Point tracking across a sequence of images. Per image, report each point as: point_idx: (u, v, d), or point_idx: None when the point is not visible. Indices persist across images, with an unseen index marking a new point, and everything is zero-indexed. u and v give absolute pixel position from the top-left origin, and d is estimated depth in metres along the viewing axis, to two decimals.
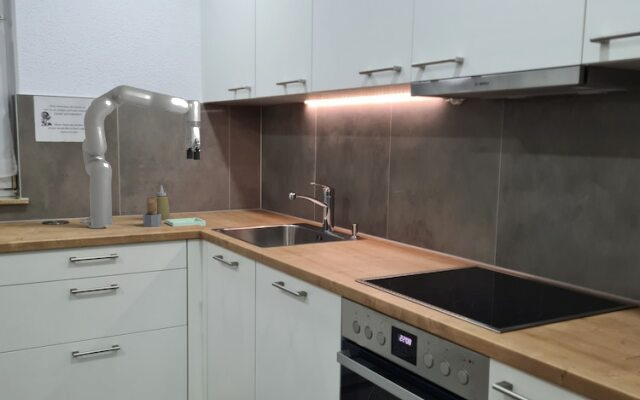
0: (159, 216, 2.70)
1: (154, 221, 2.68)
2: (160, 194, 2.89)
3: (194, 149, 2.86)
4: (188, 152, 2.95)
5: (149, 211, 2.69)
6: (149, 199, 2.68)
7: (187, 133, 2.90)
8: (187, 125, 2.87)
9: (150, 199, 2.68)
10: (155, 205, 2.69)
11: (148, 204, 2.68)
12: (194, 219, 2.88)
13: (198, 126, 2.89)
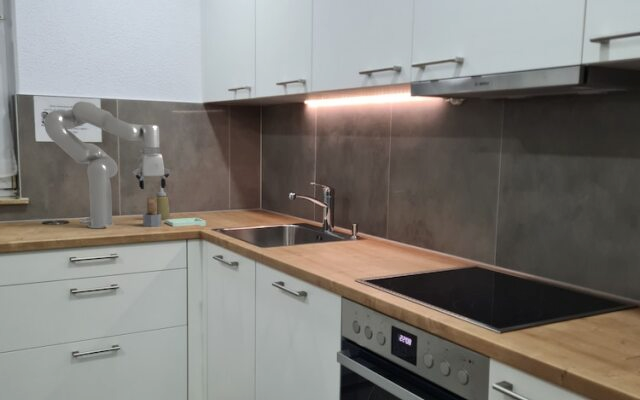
0: (159, 216, 2.70)
1: (154, 221, 2.68)
2: (160, 194, 2.89)
3: (165, 177, 2.71)
4: None
5: (149, 211, 2.69)
6: (149, 199, 2.68)
7: (153, 161, 2.66)
8: (156, 152, 2.66)
9: (150, 199, 2.68)
10: (155, 205, 2.69)
11: (148, 204, 2.68)
12: (194, 219, 2.88)
13: None
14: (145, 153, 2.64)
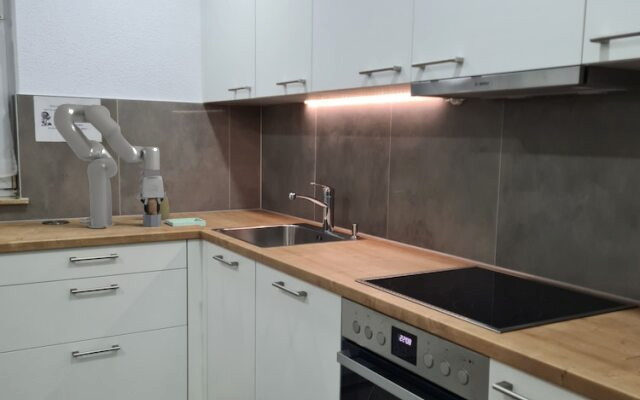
0: (159, 216, 2.70)
1: (154, 221, 2.68)
2: None
3: (160, 201, 2.71)
4: None
5: (149, 211, 2.69)
6: (149, 199, 2.68)
7: (153, 183, 2.67)
8: (156, 174, 2.67)
9: (150, 199, 2.68)
10: (155, 205, 2.69)
11: (148, 204, 2.68)
12: (194, 219, 2.88)
13: None
14: (145, 175, 2.66)
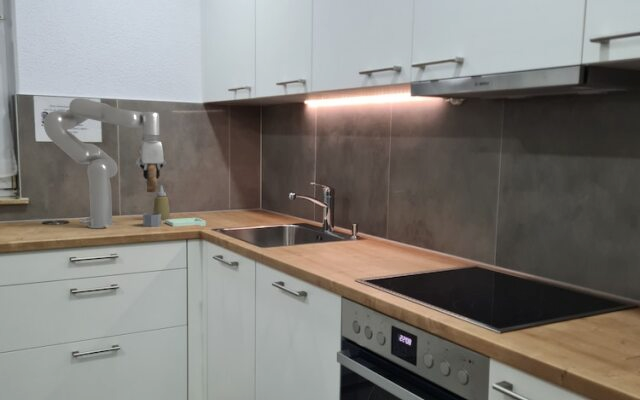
0: (159, 216, 2.70)
1: (154, 221, 2.68)
2: (160, 194, 2.89)
3: (160, 167, 2.69)
4: None
5: (149, 177, 2.67)
6: (149, 165, 2.66)
7: (152, 148, 2.65)
8: (156, 139, 2.65)
9: (150, 165, 2.66)
10: (155, 171, 2.68)
11: (148, 170, 2.67)
12: (194, 219, 2.88)
13: None
14: (145, 140, 2.64)
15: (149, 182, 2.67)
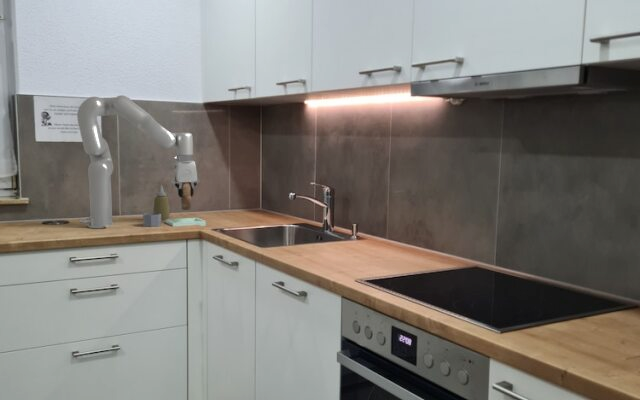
0: (159, 216, 2.70)
1: (154, 221, 2.68)
2: (160, 194, 2.89)
3: (193, 186, 2.79)
4: None
5: (183, 195, 2.76)
6: (183, 183, 2.76)
7: (187, 167, 2.74)
8: (190, 159, 2.74)
9: (184, 183, 2.76)
10: (189, 189, 2.77)
11: (182, 188, 2.76)
12: (194, 219, 2.88)
13: None
14: (179, 160, 2.73)
15: (184, 200, 2.77)
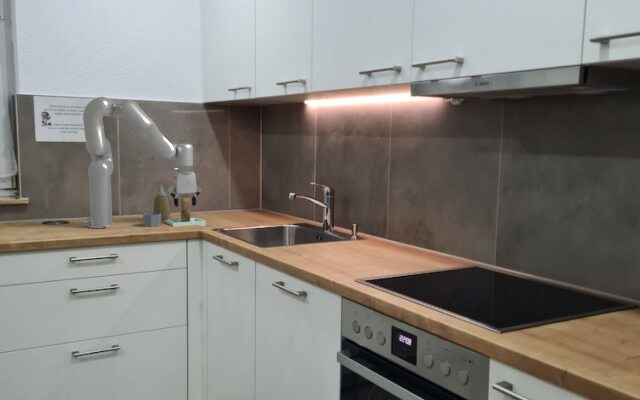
0: (159, 216, 2.70)
1: (154, 221, 2.68)
2: (160, 194, 2.89)
3: (196, 195, 2.80)
4: None
5: (183, 209, 2.77)
6: (184, 197, 2.76)
7: (186, 178, 2.75)
8: (190, 170, 2.75)
9: (185, 198, 2.76)
10: (189, 203, 2.77)
11: (183, 202, 2.76)
12: (194, 219, 2.88)
13: None
14: (179, 171, 2.74)
15: (183, 214, 2.77)
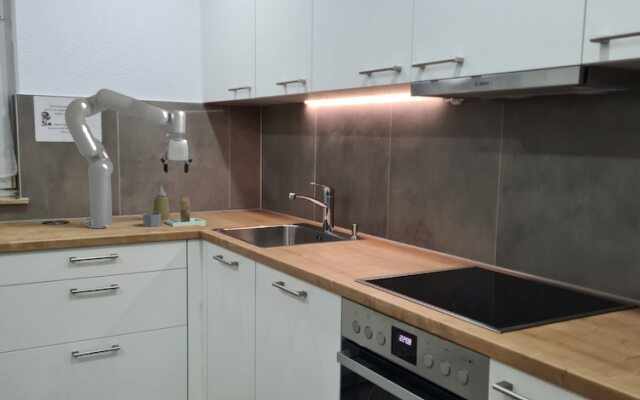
0: (159, 216, 2.70)
1: (154, 221, 2.68)
2: (160, 194, 2.89)
3: (188, 162, 2.78)
4: None
5: (182, 209, 2.77)
6: (183, 198, 2.76)
7: (178, 145, 2.73)
8: (182, 137, 2.73)
9: (183, 198, 2.76)
10: (188, 203, 2.78)
11: (182, 202, 2.77)
12: (194, 219, 2.88)
13: None
14: (171, 138, 2.72)
15: (183, 214, 2.77)
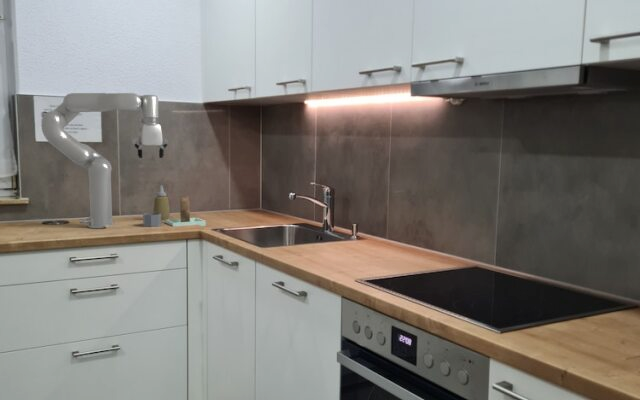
0: (159, 216, 2.70)
1: (154, 221, 2.68)
2: (160, 194, 2.89)
3: (163, 147, 2.77)
4: None
5: (182, 209, 2.77)
6: (182, 197, 2.76)
7: (152, 130, 2.71)
8: (155, 122, 2.71)
9: (183, 197, 2.76)
10: (188, 203, 2.78)
11: (181, 202, 2.77)
12: (194, 219, 2.88)
13: None
14: (144, 122, 2.70)
15: (183, 214, 2.77)
